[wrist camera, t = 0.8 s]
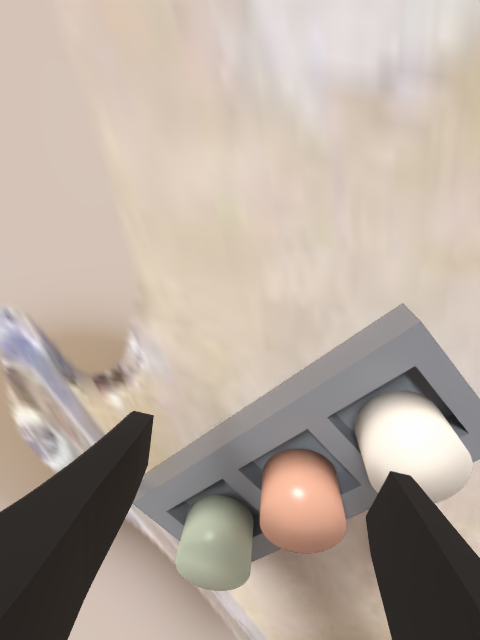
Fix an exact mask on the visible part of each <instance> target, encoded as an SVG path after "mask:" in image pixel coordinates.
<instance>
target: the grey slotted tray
mask: <svg viewBox="0 0 480 640" xmlns="http://www.w3.org/2000/svg"><path fill="white" fill-rule="evenodd" d="M392 391H411V392H416V393H419V394H422V395H424V396H426V397H427V398H429V399H430V400H432V401H433V402H434V403H435V404H436V406H437V407H438V409H439V410H440V411H441V413H442V414H443V416H444V417H445V419H446V420H447V421H448V423H449V424H450V426H451V427H452V429H453V430H454V431H455V433H456V434H457V436H458V437H459V439H460V440H461V442H462V443H463V444H464V446H465V447H466V449H467V450H468V452H469V453H470V455H471V458H472V462H474V461H477V460H479V459H480V399H479V397H478V396H477V395H476V394H475V392H474V391H473V390H472V388H471V387H470V386H469V384H468V383H467V382H466V380H465V379H464V378H463V376H462V375H461V374H460V372H459V371H458V370H457V368H456V367H455V366H454V364H453V363H452V362H451V360H450V359H449V358H448V356H447V355H446V354H445V352H444V351H443V350H442V349H441V347H440V346H439V345H438V343H437V342H436V341H435V339H434V338H433V337H432V335H431V334H430V333H429V331H428V330H427V329H426V327H425V326H424V325H423V323H422V322H421V321H420V320H419V319H418V318H417V317H416V316H415V315H414V314H413V313H412V312H411V311H410V310H409V309H408V308H407V307H406V306H405V305H404V304H401V305H400V306H398V307H397V308H395V309H394V310H392V311H391V312H389V313H388V314H386V315H384V316H383V317H381V318H380V319H378V320H377V321H375V322H374V323H372V324H371V325H369V326H368V327H366V328H365V329H363V330H362V331H360V332H359V333H357V334H356V335H354V336H353V337H351V338H350V339H348V340H347V341H345V342H344V343H342V344H341V345H339V346H338V347H336V348H335V349H333V350H332V351H330V352H329V353H327V354H326V355H324V356H323V357H321V358H320V359H318V360H317V361H315V362H314V363H312V364H310V365H309V366H307V367H306V368H304V369H303V370H301V371H300V372H298V373H297V374H295V375H294V376H292V377H291V378H289V379H288V380H286V381H285V382H283V383H282V384H280V385H279V386H277V387H276V388H274V389H273V390H271V391H270V392H268V393H267V394H265V395H264V396H262V397H261V398H259V399H258V400H256V401H255V402H253V403H252V404H250V405H249V406H247V407H246V408H244V409H243V410H241V411H240V412H238V413H236V414H235V415H233V416H232V417H230V418H229V419H227V420H226V421H224V422H223V423H221V424H220V425H218V426H217V427H215V428H214V429H212V430H211V431H209V432H208V433H206V434H205V435H203V436H202V437H200V438H199V439H197V440H196V441H194V442H193V443H191V444H190V445H188V446H187V447H185V448H184V449H182V450H181V451H179V452H178V453H176V454H175V455H173V456H172V457H170V458H169V459H167V460H166V461H164V462H163V463H161V464H159V465H158V466H156V467H155V468H153V469H152V470H150V471H149V472H147V473H146V474H145V475H144V478H143V480H142V482H141V484H140V487H139V489H138V492H137V494H136V497H135V499H134V501H133V503H132V504H134V505H135V506H136V507H137V508H139V509H140V510H141V511H142V512H144V513H145V514H146V515H147V516H149V517H150V518H151V519H152V520H154V521H155V522H156V523H158V524H159V525H160V526H161V527H163V528H164V529H165V530H166V531H168V532H169V533H170V534H171V535H173V536H174V537H175V538H176V539H178V540H179V541H180V540H181V536H182V532H183V529H184V525H185V521H186V517H187V514H188V510H189V507H190V506H191V504H192V503H193V502H194V501H196V500H197V499H199V498H202V497H205V496H210V495H221V496H227V497H230V498H233V499H235V500H237V501H239V502H241V503H242V504H244V505H245V506H246V507H247V508H248V509H249V511H250V512H251V514H252V516H253V520H254V524H253V538H252V553H251V562H253V561H255V560H257V559H259V558H261V557H264V556H266V555H268V554H270V553H273V552H275V551H277V550H279V549H281V548H280V547H278V546H276V545H274V544H273V543H272V542H270V541H269V540H268V539H267V538H266V537H265V535H264V534H263V532H262V530H261V527H260V506H261V487H262V471H263V468H264V465H265V464H266V462H267V461H268V460H269V459H270V458H271V457H272V456H274V455H275V454H277V453H279V452H282V451H285V450H290V449H305V450H310V451H314V452H317V453H319V454H321V455H323V456H324V457H326V458H327V459H328V460H329V461H330V462H331V463H332V464H333V466H334V468H335V470H336V473H337V478H338V483H339V488H340V493H341V498H342V503H343V508H344V513H345V518H346V519H348V518H350V517H352V516H355V515H357V514H359V513H361V512H364V511H366V510H368V509H370V508H371V506H372V504H373V502H374V500H375V498H376V496H377V495H378V492H376V491H375V489H374V488H373V487H372V485H371V483H370V481H369V478H368V475H367V471H366V468H365V465H364V461H363V458H362V455H361V451H360V448H359V445H358V442H357V438H356V435H355V431H354V423H355V419H356V416H357V414H358V412H359V411H360V409H361V408H362V407H363V406H364V405H365V404H366V403H367V402H368V401H370V400H371V399H373V398H375V397H377V396H378V395H381V394H384V393H388V392H392Z"/></svg>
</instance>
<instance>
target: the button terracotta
mask: <svg viewBox="0 0 480 640" xmlns="http://www.w3.org/2000/svg"><path fill="white" fill-rule="evenodd" d="M260 527H261V530H262V532H263V534H264V535H265V537H266V538H267V539H268V540H269V541H270V542H272V543H273V544H274V545H276V546H278V547H280V548H282V549H285V550H288V551H291V552H296V553H316V552H321V551H324V550H327V549H330V548H332V547H333V546H335V545H336V544H338V543H339V542H340V541H341V540H342V538H343V537H344V535H345V533H346V529H347V523H346V518H345V513H344V508H343V503H342V498H341V493H340V488H339V483H338V478H337V473H336V470H335V468H334V466H333V464H332V463H331V462H330V461H329V460H328V459H327V458H326V457H324V456H323V455H321V454H319V453H317V452H314V451H310V450H305V449H290V450H285V451H282V452H279V453H277V454H275V455H274V456H272V457H271V458H270V459H269V460H268V461H267V462H266V464H265V465H264V468H263V471H262V487H261V506H260Z"/></svg>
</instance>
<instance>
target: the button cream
mask: <svg viewBox="0 0 480 640" xmlns="http://www.w3.org/2000/svg"><path fill="white" fill-rule="evenodd" d="M354 431H355V435H356V438H357V442H358V445H359V448H360V451H361V455H362V458H363V461H364V465H365V468H366V471H367V475H368V478H369V481H370V483H371V485H372V487H373V488H374V489H375V491H376V492H378V493H379V491H380V489H381V487H382V485H383V483H384V482H385V480H386V478H387V476H388V474H389V472H390V471H393V472H398V473H402V474H406V475H410V476H411V477H412V478H413V479H414V480H415V481H416V482H417V483H418V485H419V486H420V487H421V488H422V489H423V490H424V492H425V493H426V494H427V495H428V496H429V498H430V499H431V500H432V501H433V503H437V502H440V501H443V500H445V499H447V498H449V497H451V496H453V495H454V494H456V493H457V492H458V491H460V490H461V489H462V488H463V487H464V486H465V485H466V483H467V482H468V480H469V478H470V476H471V474H472V469H473V462H472V458H471V455H470V453H469V452H468V450H467V449H466V447H465V446H464V444H463V443H462V442H461V440H460V439H459V437H458V436H457V434H456V433H455V431H454V430H453V429H452V427H451V426H450V424H449V423H448V421H447V420H446V419H445V417H444V416H443V414H442V413H441V411H440V410H439V409H438V407H437V406H436V404H435V403H434V402H433V401H432V400H430V399H429V398H427V397H426V396H424V395H422V394H419V393H416V392H411V391H392V392H388V393H384V394H381V395H378V396H377V397H375V398H373V399H371V400H370V401H368V402H367V403H366V404H365V405H364V406H363V407H362V408H361V409H360V411H359V412H358V414H357V416H356V419H355V423H354Z"/></svg>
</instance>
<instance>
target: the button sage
mask: <svg viewBox="0 0 480 640" xmlns="http://www.w3.org/2000/svg"><path fill="white" fill-rule="evenodd" d="M253 524H254V520H253V516H252V514H251V512H250V511H249V509H248V508H247V507H246V506H245V505H244V504H242V503H241V502H239V501H237V500H235V499H233V498H230V497H227V496H221V495H210V496H205V497H202V498H199V499H197V500H196V501H194V502H193V503H192V504H191V506H190V507H189V510H188V514H187V517H186V521H185V525H184V529H183V532H182V536H181V540H180V543H179V547H178V551H177V555H176V558H175V565H176V568H177V570H178V572H179V573H180V575H182V577H183V578H185V579H186V580H187V581H189V582H190V583H192V584H194V585H196V586H198V587H201V588H204V589H208V590H215V591H226V590H232V589H235V588H238V587H240V586H242V585H243V584H244V583H245V582H246V581H247V580H248V578H249V576H250V567H251V553H252V538H253Z"/></svg>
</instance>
